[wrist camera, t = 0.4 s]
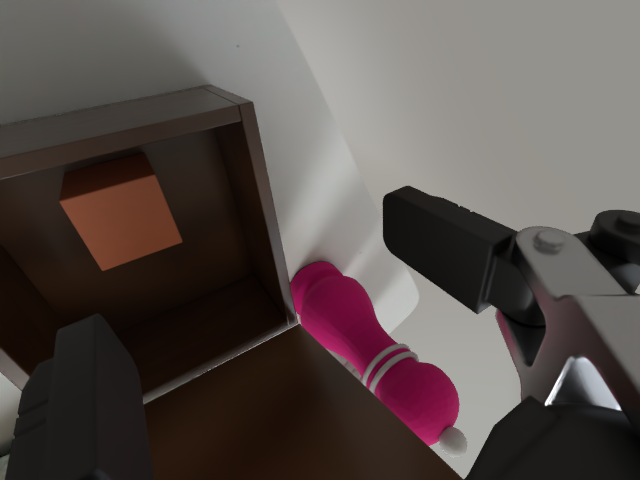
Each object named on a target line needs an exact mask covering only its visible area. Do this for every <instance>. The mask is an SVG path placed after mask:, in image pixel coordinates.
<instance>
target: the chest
mask: <svg viewBox="0 0 640 480" xmlns="http://www.w3.org/2000/svg"><path fill="white" fill-rule="evenodd" d="M141 153H145V154H146V156H147V158H148V160H149V162H150V164H151V167H152V169H153V171H154V173H155V175H156V177H157V180H158V182H159V185H160V187H161V190H162V192H163V194H164V197H165V199H166V202H167V204H168V207H169V209H170V211H171V214H172V216H173V219H174V221H175V224H176V226H177V228H178V231H179V233H180V236H181V238H182V243H179V244H176V245H173V246H171V247H168V248H165V249H162V250H160V251H157V252H154V253H151V254H149V255H146V256H143V257H140V258H138V259H135V260H132V261H129V262H127V263H124V264H121V265H118V266H115V267H113V268H110V269H107V270H104V271H102V270H101V268H100V267H99V265H98V264H97V262H96V260H95V259H94V257H93V256H92V254H91V252H90V251H89V249H88V247H87V246H86V244H85V243H84V241H83V239H82V238H81V236H80V235H79V233H78V231H77V230H76V228H75V227H74V225H73V223H72V222H71V220H70V219H69V217H68V215H67V214H66V212H65V211H64V209H63V207H62V206H61V204H60V203H59V199H60V193H61V188H62V182H63V177H64V173H66V172H70V171H74V170H78V169H82V168H86V167H90V166H93V165H97V164H101V163H105V162H109V161H113V160H117V159H121V158H125V157H129V156H133V155H137V154H141ZM97 313H98V314H100V315H101V316H102V317H103V318H104V319H105V320H106V322H107V323H108V324H109V326H110V327H111V329H112V330H113V331H114V333H115V334H116V336H117V337H118V338H119V340H120V341H121V342H122V344H123V345H124V347H125V348H126V349H127V351H128V352H129V354H130V355H131V357H132V359H133V360H134V363H135V365H136V367H137V370H138V373H139V377H140V382H141V389H142V396H143V403H145V402H147V401H149V400H151V399H153V398H155V397H157V396H159V395H161V394H163V393H164V392H166V391H168V390H170V389H172V388H174V387H176V386H178V385H180V384H182V383H184V382H186V381H188V380H190V379H191V378H193V377H195V376H197V375H199V374H201V373H203V372H205V371H207V370H209V369H211V368H213V367H215V366H217V365H219V364H220V363H222V362H224V361H226V360H228V359H230V358H232V357H234V356H236V355H238V354H240V353H242V352H244V351H246V350H247V349H249V348H251V347H253V346H255V345H257V344H259V343H261V342H263V341H265V340H267V339H269V338H271V337H273V336H274V335H276V334H278V333H280V332H282V331H284V330H286V329H288V328H290V327H292V326H294V325H296V324H297V323H298V321H297V316H296V311H295V306H294V302H293V297H292V292H291V287H290V282H289V277H288V272H287V267H286V262H285V257H284V252H283V247H282V242H281V237H280V233H279V228H278V223H277V218H276V213H275V208H274V203H273V198H272V193H271V188H270V183H269V178H268V173H267V168H266V164H265V159H264V154H263V149H262V144H261V139H260V134H259V129H258V124H257V119H256V114H255V109H254V104H253V102H252V101H250V100H247V99H245V98H242V97H240V96H237V95H235V94H233V93H230V92H228V91H225V90H223V89H220V88H218V87H216V86H213V85H206V86H201V87H196V88H191V89H185V90H180V91H175V92H170V93H165V94H160V95H154V96H149V97H144V98H139V99H134V100H129V101H124V102H118V103H113V104H108V105H103V106H98V107H93V108H88V109H82V110H77V111H72V112H67V113H62V114H57V115H51V116H46V117H41V118H36V119H31V120H26V121H21V122H15V123H10V124H5V125H0V372H1V373H2V374H3V375H4V376H6V377H7V378H8V379H9V380H10V381H11V382H12V383H13V384H14V385H15V386H17V387H18V388H19V389H20V390H21V391H22V389H23V388H24V386H25V384H26V383H27V381H28V380H29V378H30V376H31V375H32V373H33V372H34V370H35V368H36V367H37V365H38V364H39V363H42V362H44V361H46V360H48V359H51V358H53V357H54V350H55V342H56V334H57V331H58V330H59V329H61V328H63V327H65V326H68V325H70V324H73V323H75V322H77V321H80V320H82V319H85V318H87V317H89V316H92V315H94V314H97Z"/></svg>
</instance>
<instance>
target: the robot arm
mask: <svg viewBox="0 0 640 480" xmlns="http://www.w3.org/2000/svg"><path fill="white" fill-rule="evenodd" d="M383 239H384V242H385V245H386V247H387V248H388V250H389V251H390V252H391V253H392V254H393V255H395V256H396V257H397V258H399V259H400V260H402V261H403V262H404V263H406V264H407V265H409V266H410V267H411V268H413V269H414V270H416V271H417V272H418V273H420V274H421V275H423V276H424V277H425V278H427V279H428V280H430V281H431V282H433V283H434V284H435V285H437V286H438V287H440V288H441V289H443V290H444V291H445V292H447V293H448V294H449V295H451V296H452V297H454V298H455V299H457V300H458V301H459V302H461V303H462V304H463V305H465V306H466V307H468V308H469V309H471V310H472V311H473V312H475V313H476V314H479V313H480V312H482V311H483V310H485V309H486V308H488V307H489V306H491V305H493V306H494V307H496V308H497V309H496V314H495V317H496V320H497V323H498V325H499V328H500V330H501V332H502V335H503V337H504V340H505V342H506V345H507V347H508V349H509V352H510V354H511V357H512V360H513V362H514V364H515V367H516V369H517V372H518V374H519V377H520V383H521V403H520V404H519V405H517V406H516V407H515V408H514V409H513V410H512V411H510V412H509V413H508V414H507V415H506V416H505V417H504V418H502V419H501V420H500V421H499V422H498V423H497V424H495V425H494V427H493V429H492V430H491V432H490V434H489V436H488V438H487V440H486V442H485V444H484V446H483V448H482V449H481V451H480V453H479V455H478V457H477V459H476V461H475V463H474V465H473V467H472V468H471V470H470V472H469V474H468V475H467V477H466V478H465V479H464V480H640V294H637V293H635V290H636V289H637V287H638V285H639V284H640V213H637V212H632V211H625V210H608V211H603V212H601V213H599V214H598V215H597V216H596V217H595V220H594V222H593V225H592V227H591V229H590V231H587V232H582V233H578V234H574V235H572V234H570V233H567V232H565V231H563V230H559V229H556V228H551V227H543V226H535V227H528V228H525V229H522V230H520V231H519V232H517V231H515V230H513V229H511V228H509V227H506V226H504V225H502V224H500V223H497V222H495V221H493V220H490V219H489V218H486V217H484V216H482V215H480V214H477V213H475V212H470V210H468V209H466V208H464V207H462V206H460V207H459V206H458V205H457V204H455V203H453V202H451V201H449V200H446V199H444V198H440V197H435V196H430V195H428V194H426V193H424V192H422V191H420V190H418V189H415V188H413V187H411V186H405V187H402V188H400V189H398V190H395V191H393V192H390V193H388V194H386V195H385V196H384V198H383ZM621 409H622V411H620V410H621ZM18 415H19V418H17V419H16V424H15V429H14V434H13V435H14V436H15V439H14V440H12V444H11V449H10V454H9V459H8V464H7V470H6V475H5V480H154V473H153V466H152V459H151V452H150V445H149V438H148V431H147V424H146V417H145V410H144V403H143V396H142V389H141V382H140V377H139V373H138V370H137V367H136V365H135V363H134V360H133V359H132V357H131V355H130V354H129V352H128V351H127V349H126V348H125V347H124V345H123V344H122V342H121V341H120V340H119V338H118V337H117V336H116V334H115V333H114V331H113V330H112V329H111V327H110V326H109V324H108V323H107V322H106V320H105V319H104V318H103V317H102V316H101V315H100V314H98V313H97V314H94V315H92V316H89V317H87V318H85V319H82V320H80V321H77V322H75V323H73V324H70V325H68V326H65V327H63V328H61V329H59V330H58V331H57V334H56V342H55V350H54V357H53V358H51V359H48V360H46V361H44V362H42V363H39V364H38V365H37V367H36V368H35V370H34V372H33V373H32V375H31V376H30V378H29V380H28V381H27V383H26V384H25V386H24V388H23V389H22V394H21V399H20V404H19V409H18Z"/></svg>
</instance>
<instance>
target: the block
mask: <svg viewBox="0 0 640 480" xmlns="http://www.w3.org/2000/svg"><path fill="white" fill-rule="evenodd" d="M59 203H60V204H61V206H62V207H63V209H64V211H65V212H66V214H67V215H68V217H69V219H70V220H71V222H72V223H73V225H74V227H75V228H76V230H77V231H78V233H79V235H80V236H81V238H82V239H83V241H84V243H85V244H86V246H87V247H88V249H89V251H90V252H91V254H92V256H93V257H94V259H95V260H96V262H97V264H98V265H99V267H100V268H101V270H102V271H104V270H107V269H110V268H113V267H115V266H118V265H121V264H124V263H127V262H129V261H132V260H135V259H138V258H140V257H143V256H146V255H149V254H151V253H154V252H157V251H160V250H162V249H165V248H168V247H171V246H173V245H176V244H179V243H182V238H181V236H180V233H179V231H178V228H177V226H176V224H175V221H174V219H173V216H172V214H171V211H170V209H169V207H168V204H167V202H166V199H165V197H164V194H163V192H162V190H161V187H160V185H159V182H158V180H157V177H156V175H155V173H154V171H153V169H152V167H151V164H150V162H149V160H148V158H147V156H146V154H145V153H141V154H137V155H133V156H129V157H125V158H121V159H117V160H113V161H109V162H105V163H101V164H97V165H93V166H90V167H86V168H82V169H78V170H74V171H70V172H66V173H64V177H63V182H62V188H61V193H60V199H59Z"/></svg>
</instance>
